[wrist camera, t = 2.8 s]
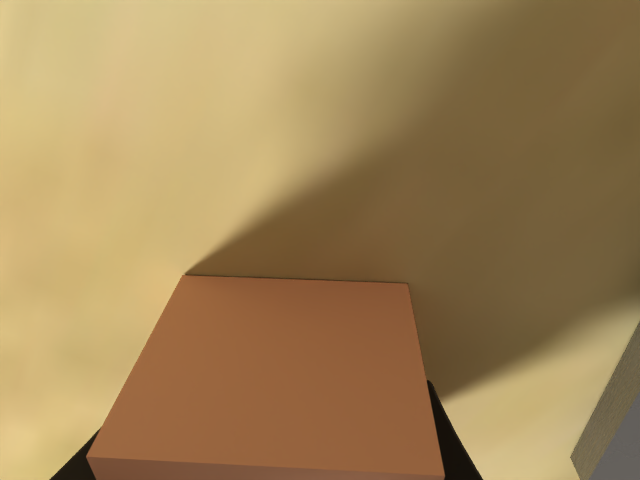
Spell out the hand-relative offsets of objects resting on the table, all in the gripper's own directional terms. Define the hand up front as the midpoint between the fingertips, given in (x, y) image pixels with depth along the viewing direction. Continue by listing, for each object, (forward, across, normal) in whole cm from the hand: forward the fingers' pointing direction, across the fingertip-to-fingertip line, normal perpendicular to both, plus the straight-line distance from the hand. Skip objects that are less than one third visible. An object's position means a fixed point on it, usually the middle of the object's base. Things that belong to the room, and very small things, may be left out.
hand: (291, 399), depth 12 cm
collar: (+1, 0, 0) cm, 1 cm away
